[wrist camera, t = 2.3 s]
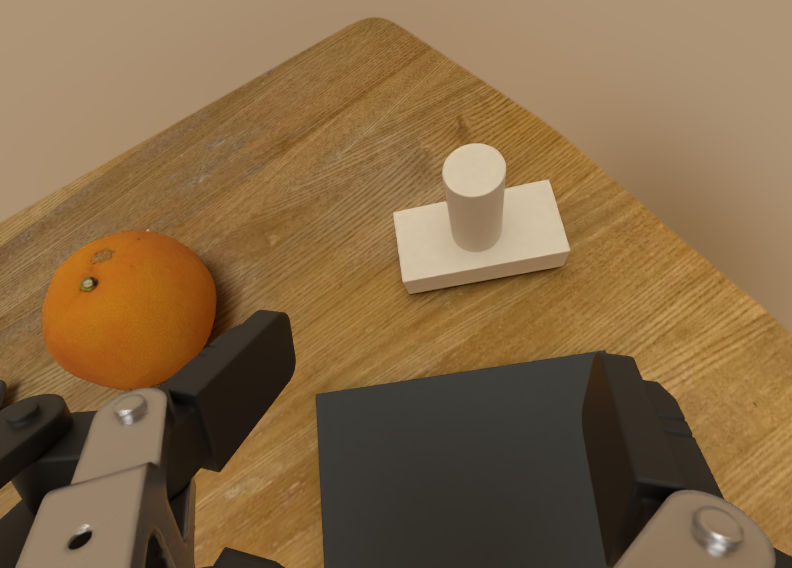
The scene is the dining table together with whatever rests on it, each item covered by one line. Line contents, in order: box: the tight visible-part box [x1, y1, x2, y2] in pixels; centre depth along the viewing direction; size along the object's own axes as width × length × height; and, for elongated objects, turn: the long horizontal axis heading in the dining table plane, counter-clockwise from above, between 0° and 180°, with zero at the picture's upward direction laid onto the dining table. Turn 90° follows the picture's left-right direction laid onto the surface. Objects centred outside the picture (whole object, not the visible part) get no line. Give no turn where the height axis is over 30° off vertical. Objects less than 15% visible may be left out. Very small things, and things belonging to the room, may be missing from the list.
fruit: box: [42, 231, 216, 390], centre depth 28 cm, size 10×10×8 cm
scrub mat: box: [316, 351, 612, 568], centre depth 23 cm, size 18×14×1 cm
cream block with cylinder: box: [393, 144, 570, 294], centre depth 24 cm, size 10×5×10 cm, turn 97°
